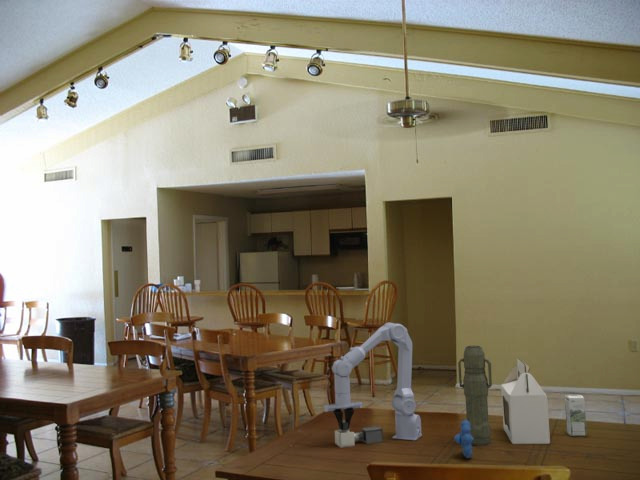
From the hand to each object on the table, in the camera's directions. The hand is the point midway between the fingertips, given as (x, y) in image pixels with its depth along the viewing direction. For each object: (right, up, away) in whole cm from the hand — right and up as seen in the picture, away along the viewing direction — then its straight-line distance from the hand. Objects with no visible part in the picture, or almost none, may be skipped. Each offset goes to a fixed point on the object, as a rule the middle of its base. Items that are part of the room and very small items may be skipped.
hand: (344, 429), depth 237 cm
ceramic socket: (0, -6, 0) cm, 6 cm away
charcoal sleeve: (+11, -5, +3) cm, 12 cm away
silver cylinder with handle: (+3, -5, +1) cm, 6 cm away
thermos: (+49, -4, -5) cm, 50 cm away
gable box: (+68, -3, +1) cm, 69 cm away
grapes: (+40, -3, -22) cm, 46 cm away
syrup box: (+87, -2, -1) cm, 87 cm away
